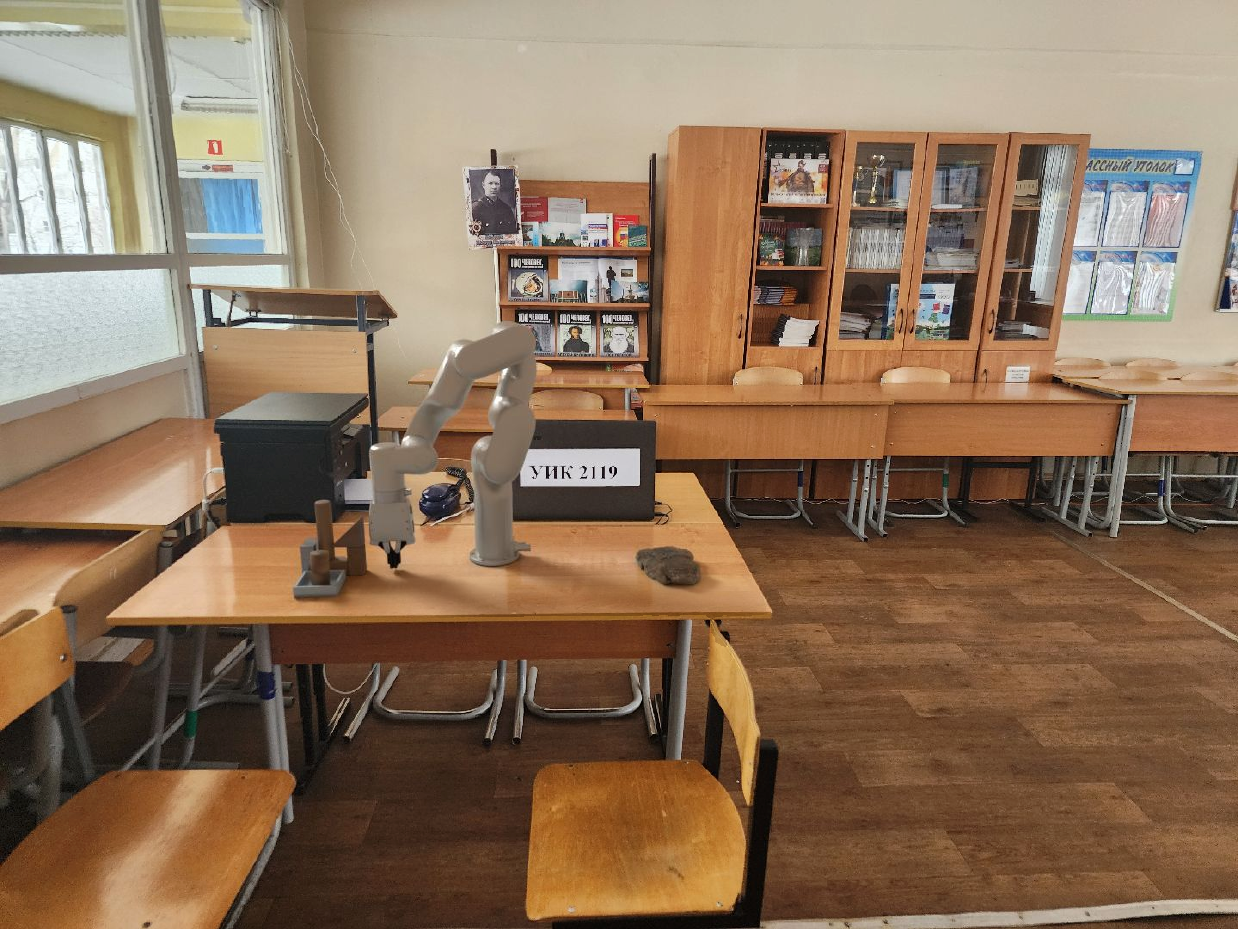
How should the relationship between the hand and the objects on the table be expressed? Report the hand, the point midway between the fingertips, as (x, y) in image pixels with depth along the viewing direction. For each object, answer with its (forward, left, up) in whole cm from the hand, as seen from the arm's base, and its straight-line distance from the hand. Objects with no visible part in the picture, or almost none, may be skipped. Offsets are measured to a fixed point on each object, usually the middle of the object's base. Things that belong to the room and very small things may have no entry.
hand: (394, 566), depth 182 cm
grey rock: (-67, +6, -2) cm, 68 cm away
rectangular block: (+19, 0, -1) cm, 19 cm away
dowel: (+15, +9, -1) cm, 18 cm away
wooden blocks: (+12, 0, -1) cm, 12 cm away
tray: (+15, +9, -1) cm, 18 cm away
